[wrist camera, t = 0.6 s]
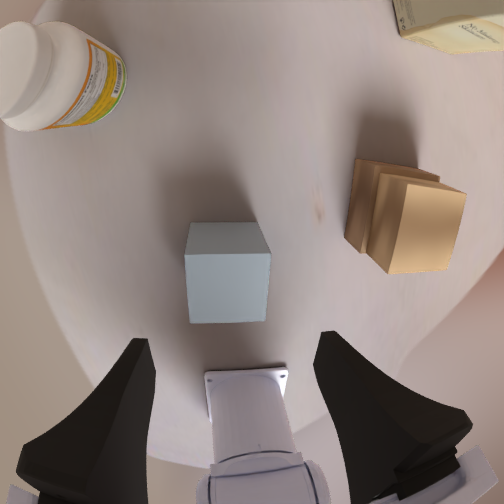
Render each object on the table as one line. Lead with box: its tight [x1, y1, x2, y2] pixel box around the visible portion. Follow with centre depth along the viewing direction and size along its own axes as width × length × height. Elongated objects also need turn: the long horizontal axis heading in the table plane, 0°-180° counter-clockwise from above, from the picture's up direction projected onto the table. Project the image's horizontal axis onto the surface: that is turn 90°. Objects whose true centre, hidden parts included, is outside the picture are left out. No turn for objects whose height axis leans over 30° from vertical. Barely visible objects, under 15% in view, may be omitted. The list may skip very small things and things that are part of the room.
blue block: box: [184, 222, 271, 323], centre depth 18 cm, size 4×4×5 cm
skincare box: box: [393, 0, 504, 54], centre depth 8 cm, size 6×4×12 cm
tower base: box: [344, 159, 440, 253], centre depth 19 cm, size 6×6×3 cm
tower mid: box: [366, 173, 467, 274], centre depth 16 cm, size 6×6×3 cm
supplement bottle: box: [0, 21, 127, 131], centre depth 9 cm, size 5×5×10 cm
